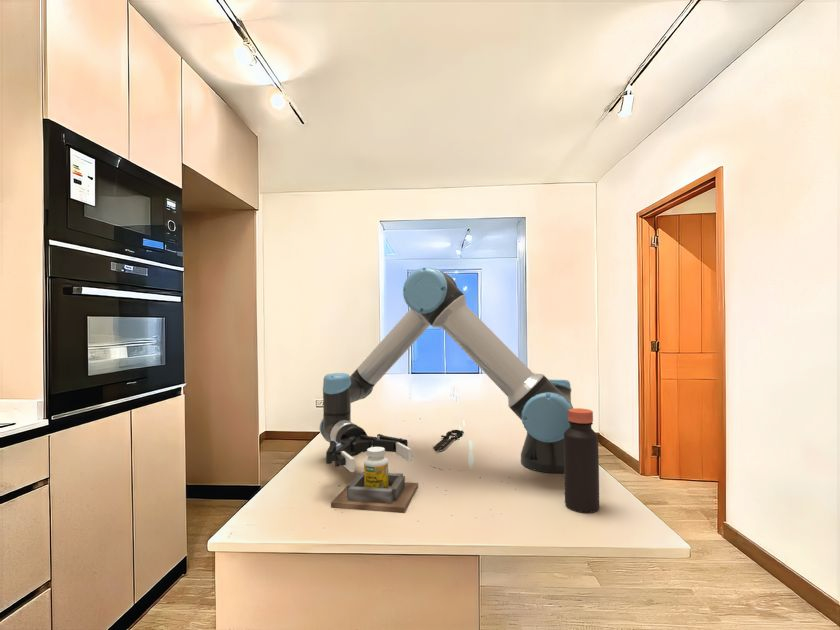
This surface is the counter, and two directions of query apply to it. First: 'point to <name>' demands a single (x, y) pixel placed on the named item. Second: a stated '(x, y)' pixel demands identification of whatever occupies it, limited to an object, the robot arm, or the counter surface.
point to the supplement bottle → (376, 468)
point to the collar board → (377, 495)
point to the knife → (448, 440)
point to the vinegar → (581, 462)
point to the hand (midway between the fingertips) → (382, 460)
